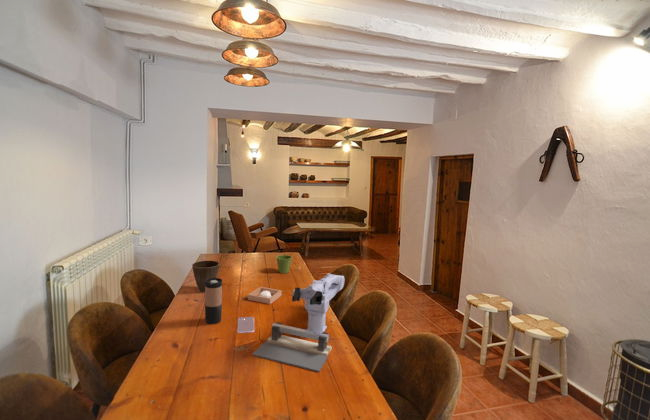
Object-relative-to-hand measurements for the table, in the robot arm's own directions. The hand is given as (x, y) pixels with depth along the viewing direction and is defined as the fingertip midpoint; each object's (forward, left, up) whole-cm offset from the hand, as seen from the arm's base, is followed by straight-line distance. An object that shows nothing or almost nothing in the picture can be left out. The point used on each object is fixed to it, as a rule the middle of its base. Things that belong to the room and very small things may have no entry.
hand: (301, 300), depth 129 cm
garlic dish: (-44, -40, -22) cm, 63 cm away
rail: (-4, -2, -17) cm, 18 cm away
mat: (+5, -2, -22) cm, 22 cm away
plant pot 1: (-39, -77, -22) cm, 89 cm away
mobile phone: (-11, -32, -22) cm, 41 cm away
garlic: (-44, -40, -22) cm, 64 cm away
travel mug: (-8, -48, -22) cm, 53 cm away
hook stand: (-4, -2, -22) cm, 22 cm away
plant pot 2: (-92, -51, -22) cm, 108 cm away
